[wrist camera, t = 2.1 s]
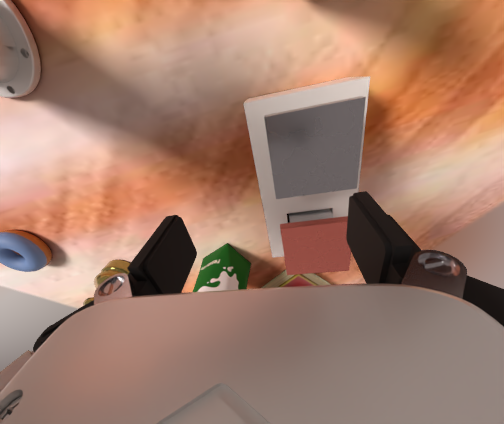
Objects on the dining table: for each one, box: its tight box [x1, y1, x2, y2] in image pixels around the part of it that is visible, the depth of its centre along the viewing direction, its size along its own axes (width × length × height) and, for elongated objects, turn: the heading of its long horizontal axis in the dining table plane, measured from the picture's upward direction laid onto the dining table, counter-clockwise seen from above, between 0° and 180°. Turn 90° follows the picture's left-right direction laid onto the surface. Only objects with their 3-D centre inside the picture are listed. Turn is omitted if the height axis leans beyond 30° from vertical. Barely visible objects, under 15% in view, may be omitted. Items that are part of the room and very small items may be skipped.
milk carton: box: [193, 243, 251, 292], centre depth 34 cm, size 9×9×20 cm
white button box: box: [243, 77, 370, 257], centre depth 28 cm, size 22×12×6 cm, turn 11°
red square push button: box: [280, 208, 351, 275], centre depth 28 cm, size 8×8×6 cm
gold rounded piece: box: [83, 260, 130, 306], centre depth 41 cm, size 7×7×10 cm
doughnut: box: [0, 230, 52, 272], centre depth 41 cm, size 10×10×5 cm
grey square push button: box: [264, 96, 366, 199], centre depth 21 cm, size 8×8×6 cm
